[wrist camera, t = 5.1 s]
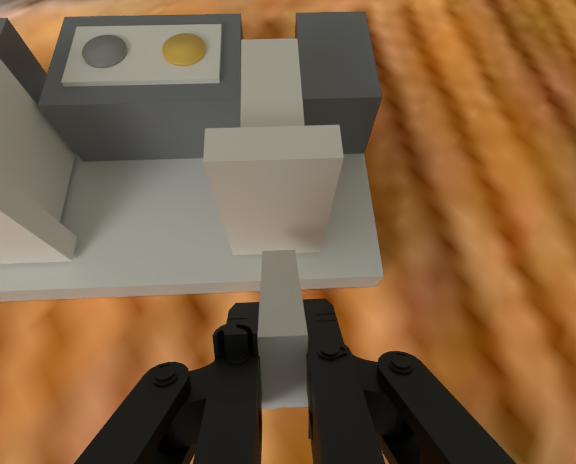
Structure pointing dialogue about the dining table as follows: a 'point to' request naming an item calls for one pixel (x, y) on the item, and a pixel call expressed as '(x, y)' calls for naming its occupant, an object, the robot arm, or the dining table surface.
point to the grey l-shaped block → (31, 180)
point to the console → (185, 152)
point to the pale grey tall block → (273, 158)
